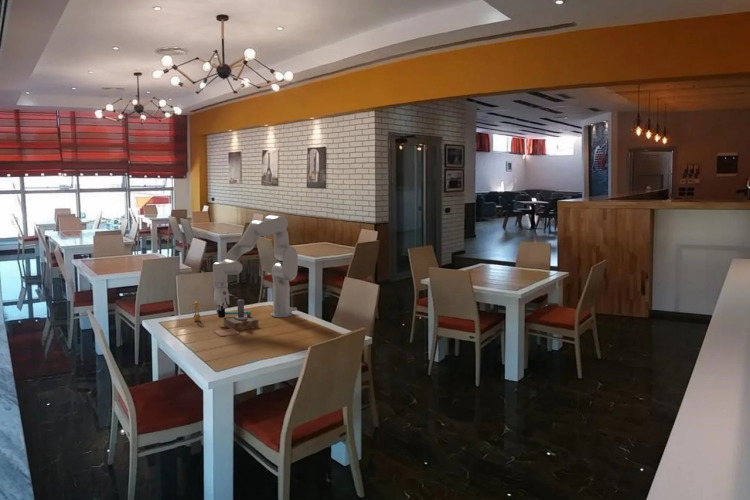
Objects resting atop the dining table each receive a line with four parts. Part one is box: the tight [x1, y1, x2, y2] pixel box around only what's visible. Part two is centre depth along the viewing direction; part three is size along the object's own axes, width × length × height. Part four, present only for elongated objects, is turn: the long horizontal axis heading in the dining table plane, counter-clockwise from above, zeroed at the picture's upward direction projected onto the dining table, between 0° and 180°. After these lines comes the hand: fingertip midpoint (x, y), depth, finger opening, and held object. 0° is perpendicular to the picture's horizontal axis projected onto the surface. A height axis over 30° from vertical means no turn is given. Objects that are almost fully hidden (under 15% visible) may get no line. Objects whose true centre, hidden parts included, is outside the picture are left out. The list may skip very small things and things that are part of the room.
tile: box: [213, 328, 241, 337], centre depth 300 cm, size 10×10×1 cm
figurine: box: [188, 300, 205, 322], centre depth 323 cm, size 8×6×12 cm
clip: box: [215, 308, 252, 316], centre depth 318 cm, size 19×2×3 cm, turn 100°
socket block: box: [223, 313, 259, 331], centre depth 314 cm, size 14×14×5 cm
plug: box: [234, 299, 247, 321], centre depth 313 cm, size 6×6×14 cm
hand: (221, 317), depth 314 cm, fingers closed
